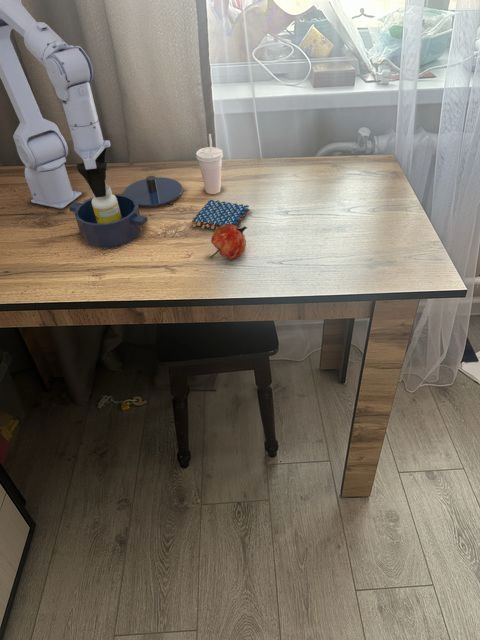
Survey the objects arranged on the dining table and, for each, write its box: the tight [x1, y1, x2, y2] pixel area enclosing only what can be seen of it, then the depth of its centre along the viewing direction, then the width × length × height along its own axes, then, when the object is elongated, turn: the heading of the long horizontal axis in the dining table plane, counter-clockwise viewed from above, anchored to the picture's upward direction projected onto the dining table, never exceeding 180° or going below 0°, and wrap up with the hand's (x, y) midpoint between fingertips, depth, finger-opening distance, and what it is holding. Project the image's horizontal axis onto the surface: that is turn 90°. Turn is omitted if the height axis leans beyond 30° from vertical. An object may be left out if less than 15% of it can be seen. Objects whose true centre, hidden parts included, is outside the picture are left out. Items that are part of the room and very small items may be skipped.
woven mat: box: [191, 199, 250, 230], centre depth 115 cm, size 10×11×2 cm
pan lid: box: [123, 175, 184, 208], centre depth 124 cm, size 14×14×4 cm
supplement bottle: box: [90, 183, 122, 223], centre depth 110 cm, size 5×5×10 cm
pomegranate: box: [209, 224, 248, 261], centre depth 103 cm, size 7×7×10 cm
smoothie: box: [195, 133, 224, 195], centre depth 121 cm, size 6×6×14 cm
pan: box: [68, 193, 148, 248], centre depth 112 cm, size 13×19×6 cm
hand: (100, 187), depth 106 cm, fingers open, 7 cm apart
